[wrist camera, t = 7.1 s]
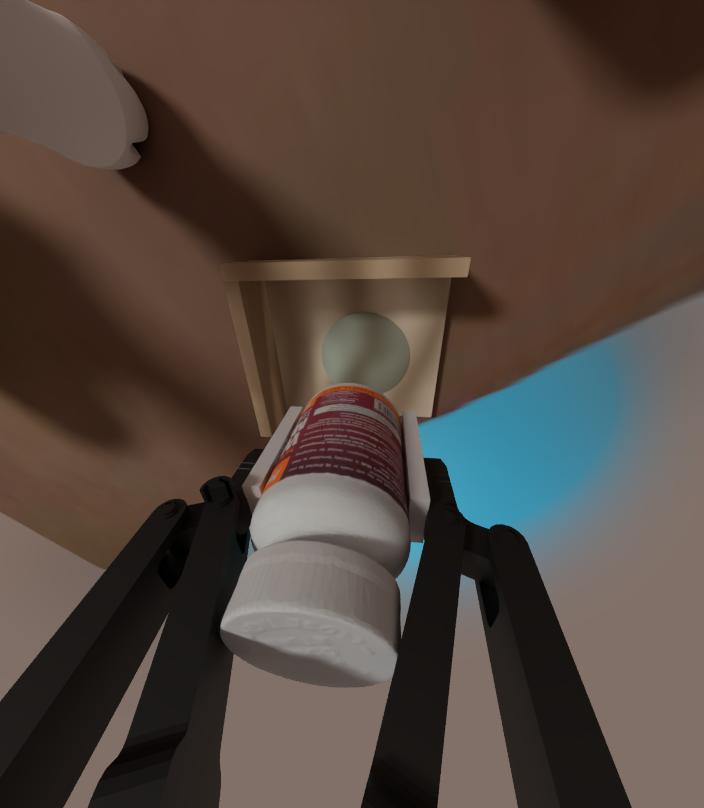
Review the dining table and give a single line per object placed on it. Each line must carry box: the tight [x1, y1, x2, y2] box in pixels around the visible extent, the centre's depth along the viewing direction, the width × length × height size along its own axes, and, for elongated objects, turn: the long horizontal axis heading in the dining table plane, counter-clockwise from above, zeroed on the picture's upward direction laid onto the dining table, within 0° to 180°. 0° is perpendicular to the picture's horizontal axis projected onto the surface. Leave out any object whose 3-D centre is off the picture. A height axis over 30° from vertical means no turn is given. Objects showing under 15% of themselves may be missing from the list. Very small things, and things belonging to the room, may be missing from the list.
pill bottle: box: [220, 383, 411, 687], centre depth 12 cm, size 6×6×11 cm
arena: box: [219, 255, 471, 437], centre depth 25 cm, size 18×16×6 cm
